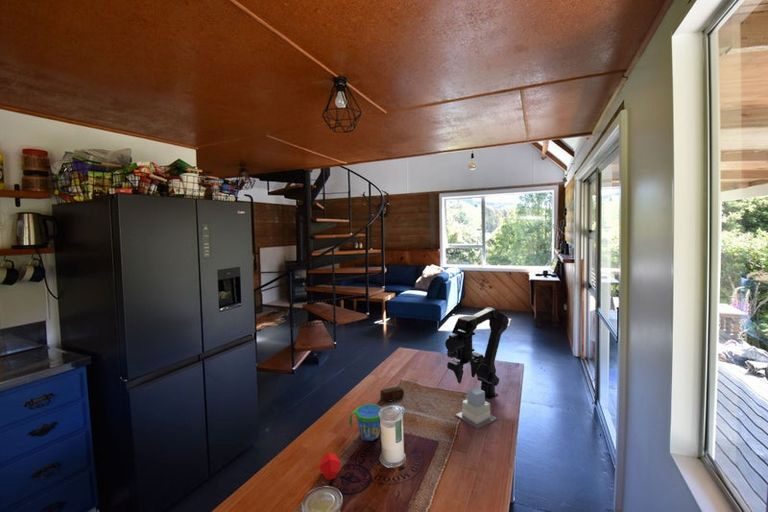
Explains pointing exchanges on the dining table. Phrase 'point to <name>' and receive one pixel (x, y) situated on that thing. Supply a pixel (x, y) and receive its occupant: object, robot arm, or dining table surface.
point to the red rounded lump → (329, 466)
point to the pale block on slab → (476, 414)
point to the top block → (476, 396)
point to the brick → (391, 393)
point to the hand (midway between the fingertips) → (466, 380)
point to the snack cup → (367, 421)
